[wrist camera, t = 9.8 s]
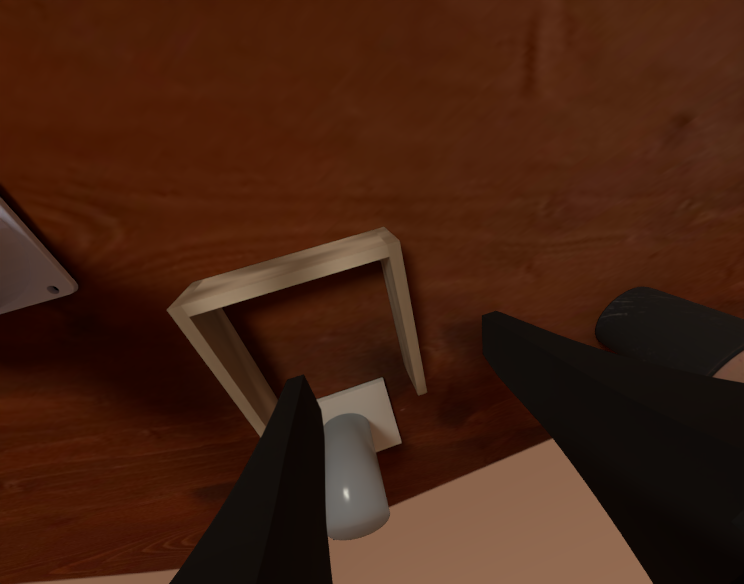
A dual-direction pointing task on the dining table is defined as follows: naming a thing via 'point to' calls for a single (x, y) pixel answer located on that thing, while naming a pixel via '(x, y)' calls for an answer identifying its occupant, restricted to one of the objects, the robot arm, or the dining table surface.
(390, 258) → the frame
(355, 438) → the grey domed cylinder
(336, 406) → the coaster
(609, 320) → the travel mug
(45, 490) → the dining table surface
